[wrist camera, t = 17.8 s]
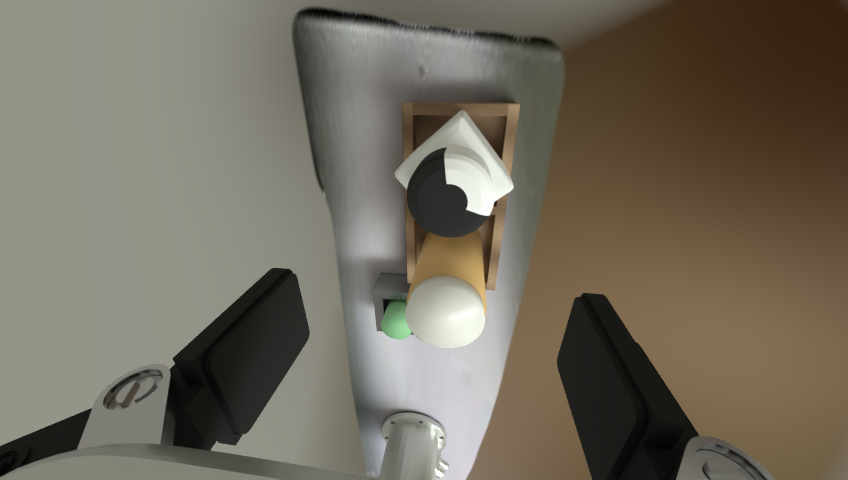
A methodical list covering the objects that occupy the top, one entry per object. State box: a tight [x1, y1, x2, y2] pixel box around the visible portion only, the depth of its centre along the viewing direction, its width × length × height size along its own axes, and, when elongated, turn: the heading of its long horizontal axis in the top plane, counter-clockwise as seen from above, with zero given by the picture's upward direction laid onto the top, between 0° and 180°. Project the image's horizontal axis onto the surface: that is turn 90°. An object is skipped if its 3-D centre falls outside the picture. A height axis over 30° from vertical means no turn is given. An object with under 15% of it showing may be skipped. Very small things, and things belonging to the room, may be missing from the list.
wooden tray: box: [402, 102, 520, 290], centre depth 34 cm, size 21×11×3 cm, turn 0°
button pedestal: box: [373, 273, 414, 335], centre depth 41 cm, size 7×7×4 cm
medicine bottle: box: [395, 110, 513, 238], centre depth 25 cm, size 7×7×12 cm
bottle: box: [405, 229, 486, 348], centre depth 31 cm, size 7×7×14 cm
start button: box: [381, 299, 412, 339], centre depth 39 cm, size 4×4×4 cm
